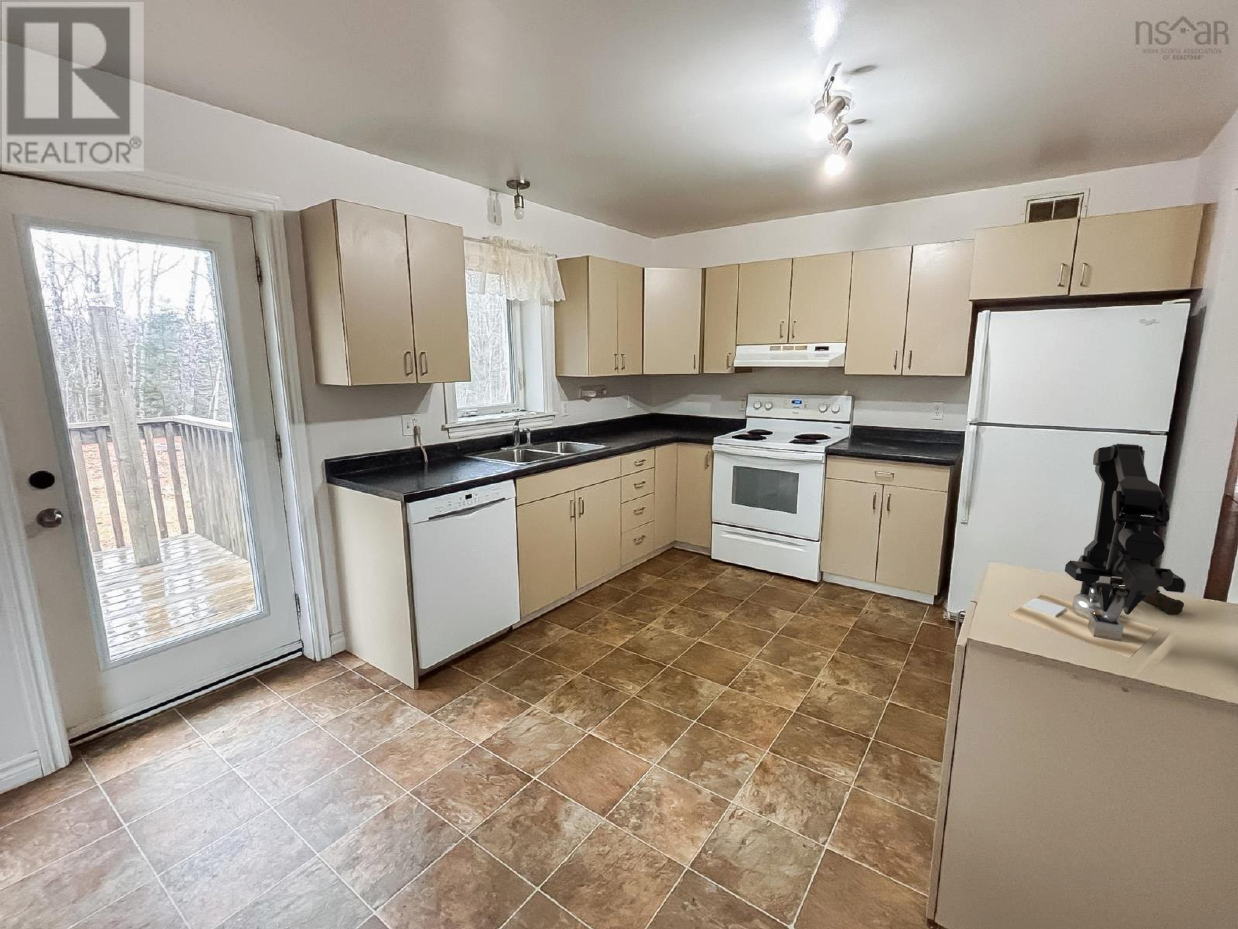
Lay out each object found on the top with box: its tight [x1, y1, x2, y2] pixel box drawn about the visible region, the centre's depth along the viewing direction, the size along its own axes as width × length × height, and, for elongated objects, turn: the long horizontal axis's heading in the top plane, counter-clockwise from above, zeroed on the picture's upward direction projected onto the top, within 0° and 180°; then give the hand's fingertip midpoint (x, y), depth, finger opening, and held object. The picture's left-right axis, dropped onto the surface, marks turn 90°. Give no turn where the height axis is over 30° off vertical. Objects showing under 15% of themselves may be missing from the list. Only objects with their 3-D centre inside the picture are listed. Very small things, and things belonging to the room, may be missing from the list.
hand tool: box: [1112, 582, 1185, 616], centre depth 139 cm, size 19×4×5 cm, turn 1°
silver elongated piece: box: [1072, 587, 1124, 641], centre depth 124 cm, size 16×7×6 cm, turn 152°
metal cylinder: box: [1099, 585, 1130, 624], centre depth 118 cm, size 3×3×10 cm
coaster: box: [1023, 597, 1066, 617], centre depth 132 cm, size 6×6×1 cm
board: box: [1007, 593, 1160, 658], centre depth 125 cm, size 20×22×2 cm
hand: (1114, 612), depth 118 cm, fingers open, 4 cm apart
